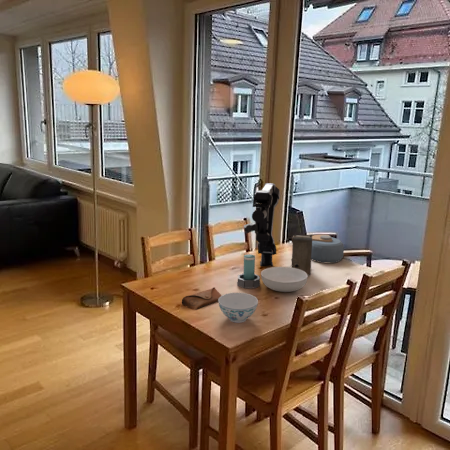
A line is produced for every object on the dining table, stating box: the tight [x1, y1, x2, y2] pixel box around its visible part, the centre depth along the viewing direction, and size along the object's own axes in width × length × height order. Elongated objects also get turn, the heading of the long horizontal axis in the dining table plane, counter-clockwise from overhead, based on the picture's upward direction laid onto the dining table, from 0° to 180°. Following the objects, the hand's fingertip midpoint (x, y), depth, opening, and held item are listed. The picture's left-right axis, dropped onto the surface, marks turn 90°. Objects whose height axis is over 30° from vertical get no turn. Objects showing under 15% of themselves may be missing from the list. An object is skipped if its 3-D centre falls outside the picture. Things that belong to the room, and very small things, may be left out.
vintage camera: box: [290, 234, 313, 276], centre depth 224 cm, size 10×16×20 cm, turn 174°
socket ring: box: [236, 272, 261, 289], centre depth 207 cm, size 10×10×4 cm
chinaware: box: [218, 292, 259, 324], centre depth 172 cm, size 15×15×8 cm
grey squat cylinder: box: [311, 234, 345, 263], centre depth 246 cm, size 19×20×12 cm
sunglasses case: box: [181, 287, 223, 311], centre depth 188 cm, size 18×7×7 cm
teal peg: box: [242, 253, 256, 280], centre depth 206 cm, size 5×5×13 cm
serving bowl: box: [260, 266, 309, 293], centre depth 203 cm, size 21×21×7 cm
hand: (261, 249), depth 216 cm, fingers open, 9 cm apart
